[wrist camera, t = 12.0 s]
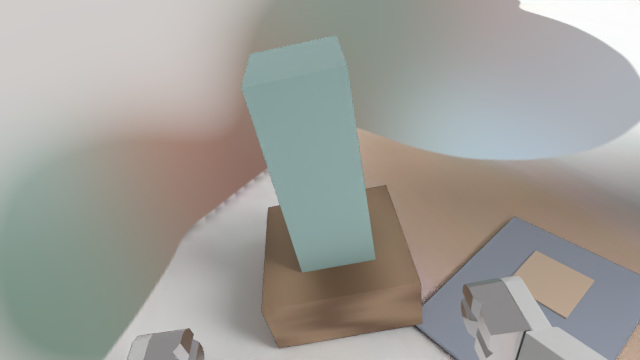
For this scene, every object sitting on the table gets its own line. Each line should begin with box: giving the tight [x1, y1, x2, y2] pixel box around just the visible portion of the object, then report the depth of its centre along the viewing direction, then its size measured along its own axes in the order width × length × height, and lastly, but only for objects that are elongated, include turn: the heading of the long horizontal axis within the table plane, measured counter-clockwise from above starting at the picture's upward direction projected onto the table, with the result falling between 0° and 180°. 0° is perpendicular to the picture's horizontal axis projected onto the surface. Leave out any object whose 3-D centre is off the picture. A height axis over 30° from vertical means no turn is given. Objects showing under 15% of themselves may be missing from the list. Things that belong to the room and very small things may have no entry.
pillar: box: [241, 36, 376, 273], centre depth 21 cm, size 4×4×12 cm
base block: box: [261, 185, 423, 348], centre depth 26 cm, size 9×9×4 cm
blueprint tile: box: [415, 216, 640, 360], centre depth 23 cm, size 12×9×1 cm
